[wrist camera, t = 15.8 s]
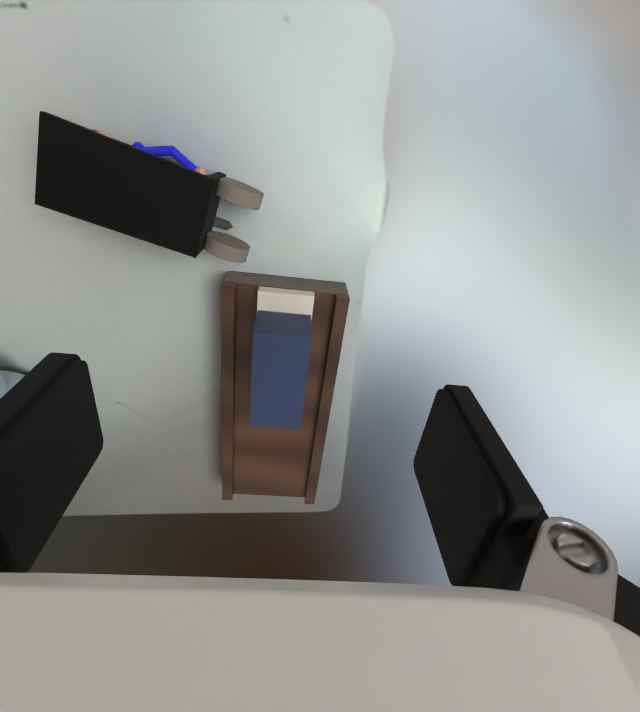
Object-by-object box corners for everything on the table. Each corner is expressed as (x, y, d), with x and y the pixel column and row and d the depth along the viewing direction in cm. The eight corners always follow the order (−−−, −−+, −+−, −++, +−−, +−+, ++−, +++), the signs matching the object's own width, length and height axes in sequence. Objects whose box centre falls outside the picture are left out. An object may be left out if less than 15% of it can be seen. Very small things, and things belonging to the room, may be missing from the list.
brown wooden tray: (228, 270, 38) (220, 285, 34) (345, 282, 39) (349, 298, 35) (227, 474, 52) (222, 500, 48) (313, 479, 53) (314, 504, 50)
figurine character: (265, 175, 35) (76, 104, 30) (268, 193, 28) (30, 106, 24) (245, 246, 38) (71, 192, 33) (244, 276, 32) (29, 214, 27)
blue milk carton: (259, 286, 35) (252, 311, 31) (314, 291, 36) (315, 317, 31) (254, 393, 42) (247, 428, 37) (301, 396, 42) (301, 431, 37)
